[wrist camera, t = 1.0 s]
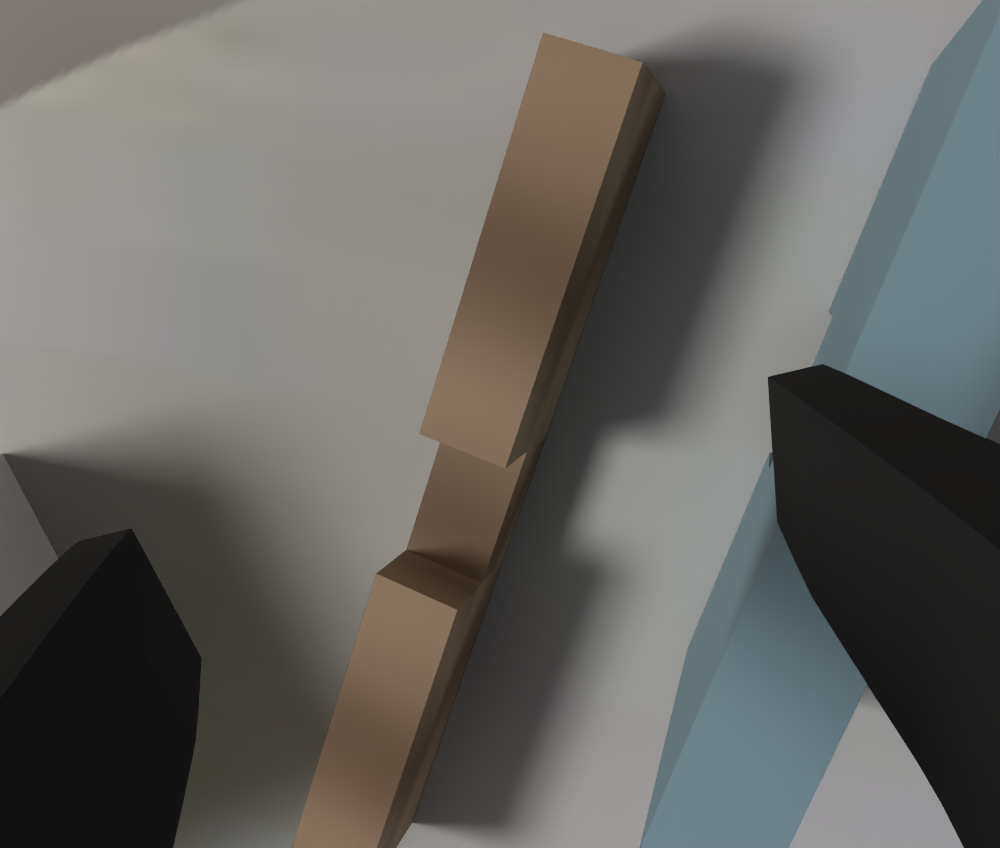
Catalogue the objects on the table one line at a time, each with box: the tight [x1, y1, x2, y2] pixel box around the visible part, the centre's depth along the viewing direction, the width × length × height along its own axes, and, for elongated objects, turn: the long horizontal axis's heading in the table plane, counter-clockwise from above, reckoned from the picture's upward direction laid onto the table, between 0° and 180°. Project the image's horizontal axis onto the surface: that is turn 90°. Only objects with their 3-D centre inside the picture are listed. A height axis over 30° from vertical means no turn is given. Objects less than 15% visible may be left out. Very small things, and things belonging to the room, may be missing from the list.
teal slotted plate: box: [640, 0, 1000, 848], centre depth 17 cm, size 14×2×8 cm, turn 162°
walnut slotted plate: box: [292, 33, 665, 848], centre depth 22 cm, size 20×2×4 cm, turn 162°
